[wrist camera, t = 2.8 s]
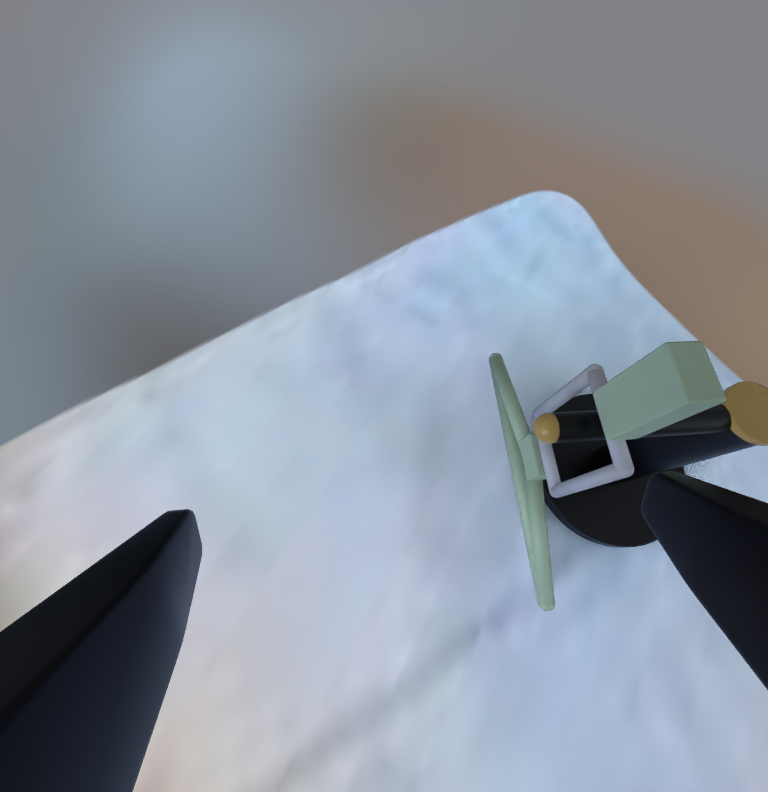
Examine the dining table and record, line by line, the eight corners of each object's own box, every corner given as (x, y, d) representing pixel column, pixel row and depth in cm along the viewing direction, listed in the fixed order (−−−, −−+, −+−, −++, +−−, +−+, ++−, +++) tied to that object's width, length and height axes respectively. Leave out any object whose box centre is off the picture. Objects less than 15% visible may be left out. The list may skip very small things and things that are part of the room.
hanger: (501, 356, 22) (634, 178, 12) (555, 609, 18) (847, 678, 7) (483, 357, 22) (602, 178, 12) (533, 611, 17) (798, 685, 7)
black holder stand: (699, 540, 21) (930, 527, 12) (478, 561, 19) (574, 562, 11) (648, 394, 24) (808, 306, 15) (454, 405, 22) (515, 315, 14)
